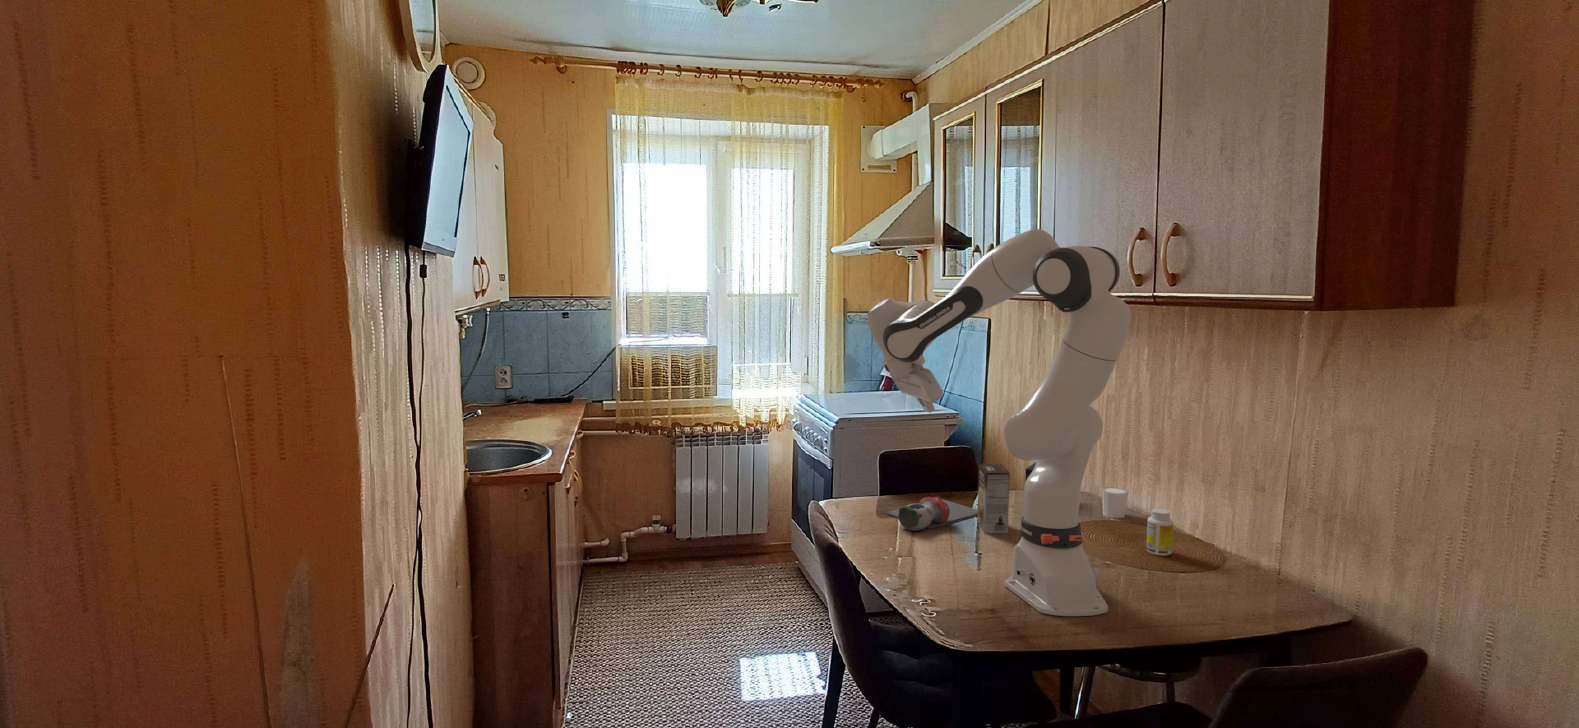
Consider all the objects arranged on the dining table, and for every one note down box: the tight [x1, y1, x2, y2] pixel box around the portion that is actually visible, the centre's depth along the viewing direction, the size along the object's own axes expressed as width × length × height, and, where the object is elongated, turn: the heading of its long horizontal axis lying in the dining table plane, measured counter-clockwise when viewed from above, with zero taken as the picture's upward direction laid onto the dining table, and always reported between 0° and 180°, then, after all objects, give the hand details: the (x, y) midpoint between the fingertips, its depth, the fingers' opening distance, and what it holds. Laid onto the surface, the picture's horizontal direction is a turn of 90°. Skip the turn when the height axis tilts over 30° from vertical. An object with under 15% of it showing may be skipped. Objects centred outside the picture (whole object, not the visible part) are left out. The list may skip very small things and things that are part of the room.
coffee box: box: [976, 463, 1011, 534], centre depth 201 cm, size 9×6×16 cm
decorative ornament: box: [897, 496, 950, 531], centre depth 203 cm, size 9×6×15 cm
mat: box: [885, 498, 978, 530], centre depth 213 cm, size 22×16×1 cm
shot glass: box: [1101, 487, 1129, 519], centre depth 212 cm, size 7×7×7 cm
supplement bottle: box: [1145, 508, 1174, 557], centre depth 183 cm, size 6×6×10 cm
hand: (929, 410), depth 191 cm, fingers closed
